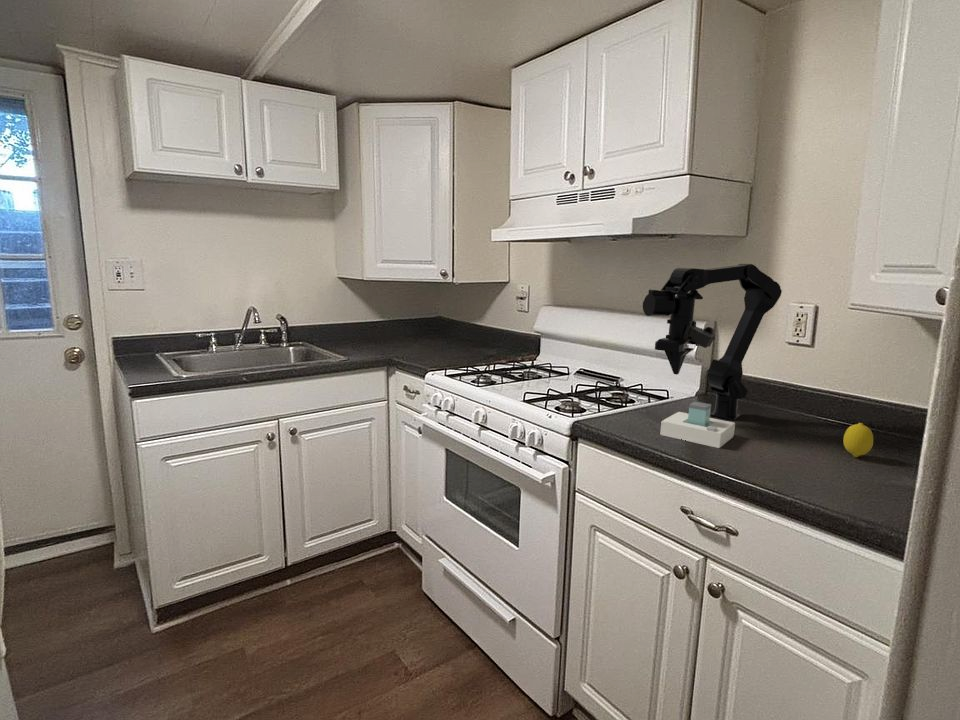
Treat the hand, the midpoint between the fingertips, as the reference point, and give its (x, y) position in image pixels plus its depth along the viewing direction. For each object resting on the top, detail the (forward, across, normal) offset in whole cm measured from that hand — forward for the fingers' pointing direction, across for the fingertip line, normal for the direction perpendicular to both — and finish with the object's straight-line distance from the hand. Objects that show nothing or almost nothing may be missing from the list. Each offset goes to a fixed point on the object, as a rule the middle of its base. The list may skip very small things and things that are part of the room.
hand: (676, 374), depth 149 cm
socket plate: (+12, -10, -10) cm, 19 cm away
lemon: (+13, 0, -42) cm, 44 cm away
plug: (+12, -10, -10) cm, 19 cm away
